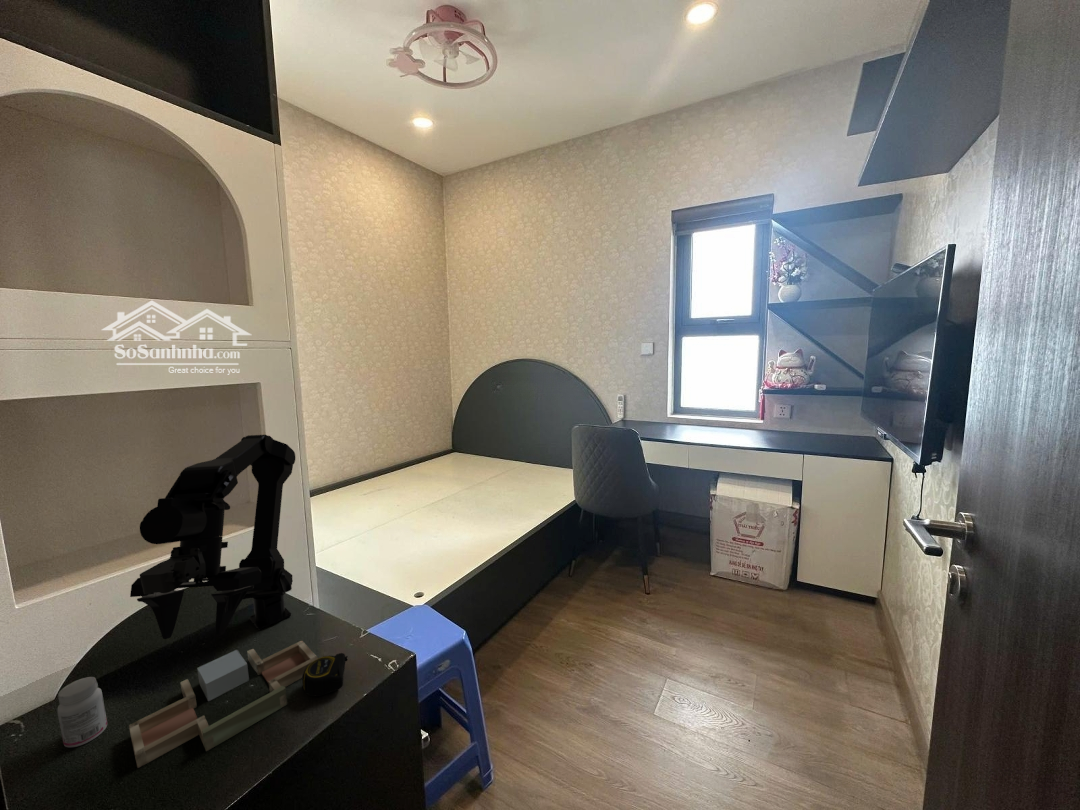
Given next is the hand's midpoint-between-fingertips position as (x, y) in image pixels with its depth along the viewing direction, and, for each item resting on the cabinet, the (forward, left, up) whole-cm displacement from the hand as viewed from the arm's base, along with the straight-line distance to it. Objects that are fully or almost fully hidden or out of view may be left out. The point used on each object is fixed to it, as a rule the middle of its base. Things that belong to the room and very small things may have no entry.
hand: (193, 636), depth 70 cm
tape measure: (+11, +16, -13) cm, 24 cm away
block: (-4, +4, -13) cm, 14 cm away
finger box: (+2, +4, -13) cm, 14 cm away
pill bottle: (-8, -13, -13) cm, 20 cm away
